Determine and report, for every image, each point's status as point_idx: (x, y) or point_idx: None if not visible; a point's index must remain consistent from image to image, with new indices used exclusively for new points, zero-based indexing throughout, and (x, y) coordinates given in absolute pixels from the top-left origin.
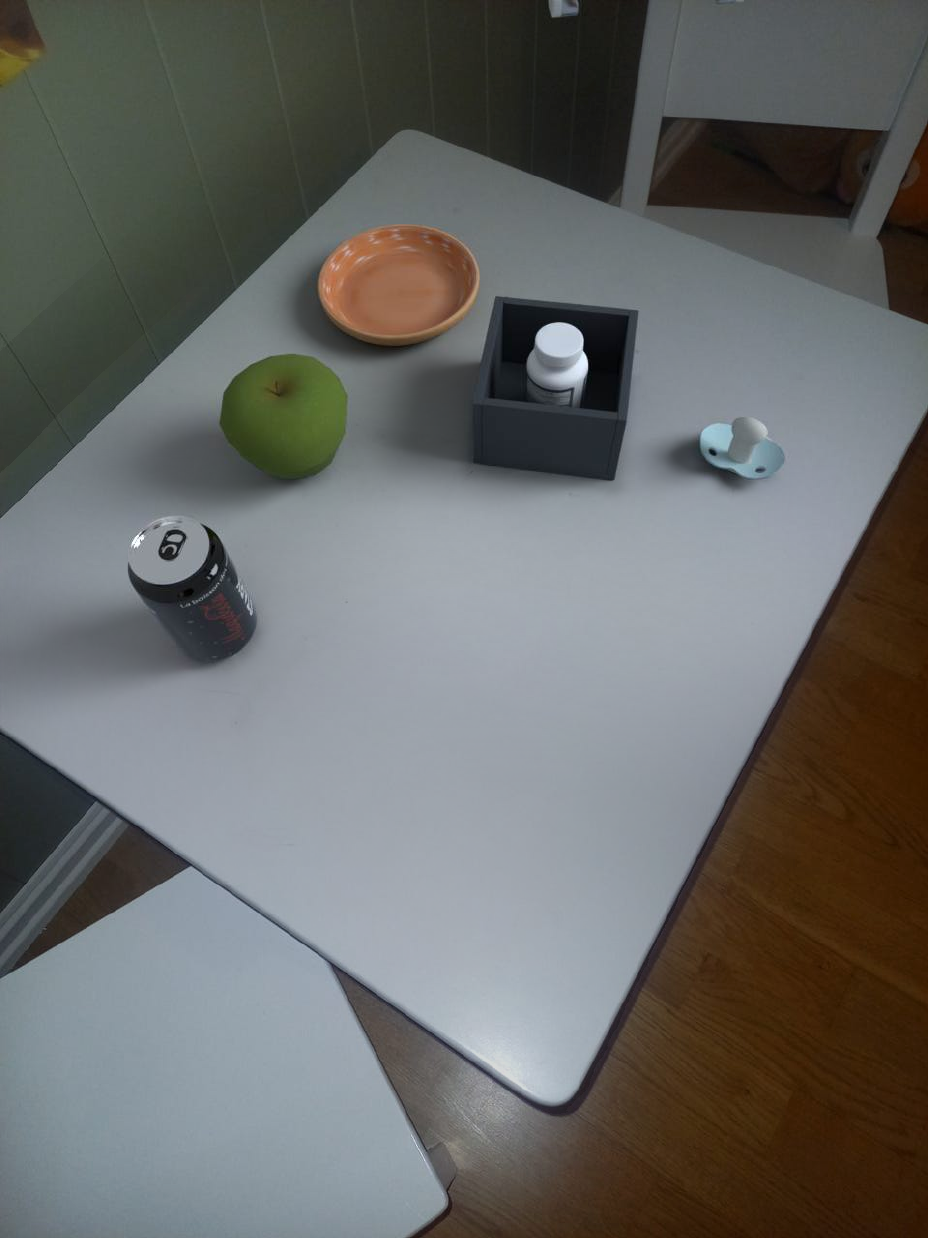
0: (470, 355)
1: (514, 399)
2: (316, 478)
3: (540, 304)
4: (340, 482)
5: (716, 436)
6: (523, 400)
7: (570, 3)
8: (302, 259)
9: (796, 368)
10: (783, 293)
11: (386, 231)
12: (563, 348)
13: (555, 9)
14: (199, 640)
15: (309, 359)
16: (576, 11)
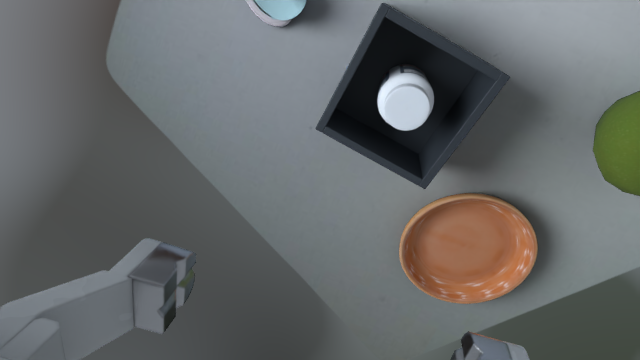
0: None
1: None
2: None
3: (392, 165)
4: (610, 84)
5: (288, 9)
6: None
7: (495, 353)
8: (513, 303)
9: (199, 66)
10: (185, 140)
11: (450, 297)
12: (408, 96)
13: (525, 354)
14: None
15: (632, 179)
16: (477, 335)
